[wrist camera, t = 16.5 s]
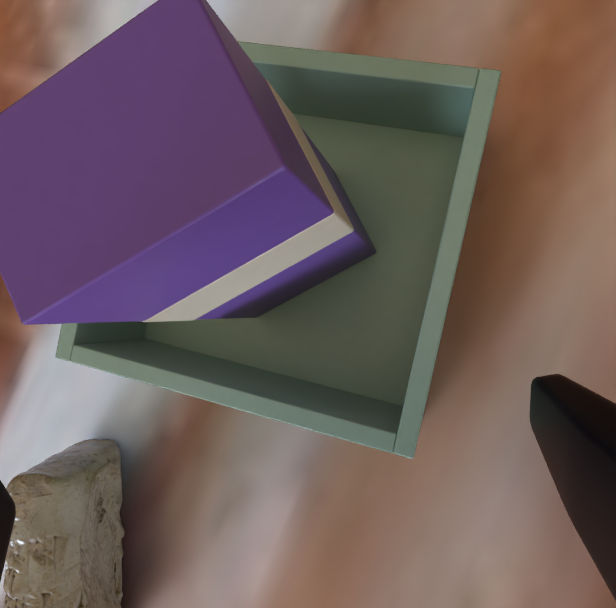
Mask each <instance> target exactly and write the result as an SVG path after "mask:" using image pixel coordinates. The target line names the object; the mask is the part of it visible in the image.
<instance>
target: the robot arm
mask: <svg viewBox="0 0 616 608" xmlns="http://www.w3.org/2000/svg"><path fill="white" fill-rule="evenodd" d="M530 423H531V427H532V430H533V432H534V435H535V437H536V440H537V442H538V444H539V447H540V449H541V452H542V454H543V456H544V459H545V461H546V463H547V466H548V468H549V471H550V473H551V475H552V478H553V480H554V483H555V485H556V487H557V490H558V492H559V494H560V497H561V499H562V502H563V504H564V506H565V508H566V511H567V513H568V515H569V517H570V519H571V521H572V523H573V525H574V527H575V529H576V530H577V532H578V534H579V536H580V538H581V539H582V541H583V543H584V545H585V547H586V548H587V550H588V552H589V554H590V556H591V557H592V559H593V561H594V563H595V564H596V566H597V568H598V570H599V572H600V573H601V575H602V577H603V579H604V581H605V582H606V584H607V586H608V588H609V590H610V591H611V593H612V595H613V597H614V599H615V600H616V404H615V403H613V402H611V401H609V400H608V399H606V398H604V397H602V396H600V395H598V394H596V393H595V392H593V391H591V390H589V389H587V388H585V387H583V386H581V385H580V384H578V383H576V382H574V381H572V380H570V379H568V378H567V377H565V376H562V375H560V374H553V375H547V376H541V377H536V378H535V379H534V380H533V381H532V384H531V400H530ZM15 516H16V507H15V503H14V501H13V499H12V497H11V496H10V494H9V493H8V491H7V490H6V488H5V487H4V485H3V484H2V482H1V480H0V581H1V576H2V572H3V568H4V564H5V559H6V555H7V551H8V547H9V542H10V538H11V534H12V530H13V525H14V521H15Z"/></svg>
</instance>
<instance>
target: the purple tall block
mask: <svg viewBox="0 0 616 608" xmlns="http://www.w3.org/2000/svg"><path fill="white" fill-rule="evenodd" d="M376 252H377V251H376V249H375V247H374V245H373V243H372V241H371V239H370V237H369V235H368V234H367V232H366V230H365V228H364V226H363V224H362V222H361V220H360V218H359V217H358V215H357V213H356V211H355V209H354V207H353V205H352V203H351V201H350V199H349V198H348V196H347V194H346V192H345V190H344V188H343V186H342V184H341V182H340V180H339V179H338V177H337V175H336V173H335V171H334V170H333V168H332V167H331V166H330V164H329V163H328V162H327V160H326V159H325V158H324V156H323V155H322V154H321V152H320V151H319V150H318V148H317V147H316V146H315V145H314V143H313V142H312V141H311V139H310V138H309V137H308V135H307V134H306V133H305V131H304V130H303V129H302V127H301V126H300V125H299V123H298V121H297V119H296V118H295V117H294V115H293V114H292V113H291V111H290V110H289V108H288V107H287V106H286V104H285V103H284V102H283V100H282V99H281V98H280V96H279V95H278V94H277V92H276V91H275V90H274V88H273V87H272V86H271V84H270V83H269V82H268V80H266V79H265V78H264V77H263V75H262V74H261V73H260V71H259V70H258V69H257V67H256V66H255V65H254V63H253V62H252V61H251V59H250V58H249V57H248V55H247V54H246V53H245V51H244V50H243V49H242V47H241V46H240V45H239V43H238V42H237V41H236V39H235V38H234V37H233V35H232V34H231V33H230V31H229V30H228V29H227V27H226V26H225V25H224V23H223V22H222V21H221V19H220V18H219V17H218V15H217V14H216V13H215V12H214V10H213V9H212V8H211V6H210V5H209V4H208V2H207V1H206V0H158V1H157V2H155V3H154V4H152V5H151V6H150V7H148V8H147V9H145V10H144V11H143V12H141V13H140V14H138V15H137V16H136V17H134V18H133V19H131V20H130V21H129V22H127V23H126V24H124V25H123V26H122V27H120V28H119V29H117V30H116V31H115V32H113V33H112V34H110V35H109V36H108V37H106V38H105V39H103V40H102V41H101V42H99V43H98V44H96V45H95V46H94V47H92V48H91V49H89V50H88V51H87V52H85V53H84V54H82V55H81V56H80V57H78V58H77V59H75V60H74V61H73V62H71V63H70V64H69V65H67V66H66V67H64V68H63V69H62V70H60V71H59V72H57V73H56V74H55V75H53V76H52V77H50V78H49V79H48V80H46V81H45V82H43V83H42V84H41V85H39V86H38V87H36V88H35V89H34V90H32V91H31V92H29V93H28V94H27V95H25V96H24V97H22V98H21V99H20V100H18V101H17V102H15V103H14V104H13V105H11V106H10V107H8V108H7V109H6V110H4V111H3V112H1V113H0V273H1V276H2V278H3V280H4V283H5V285H6V287H7V290H8V292H9V294H10V297H11V299H12V301H13V304H14V306H15V308H16V311H17V313H18V315H19V318H20V320H21V322H22V323H23V324H24V325H29V324H62V323H96V322H130V321H142V322H163V321H192V320H197V319H230V318H257V317H259V316H261V315H263V314H264V313H266V312H268V311H270V310H272V309H274V308H276V307H277V306H279V305H281V304H283V303H285V302H287V301H288V300H290V299H292V298H294V297H296V296H298V295H300V294H301V293H303V292H305V291H307V290H309V289H311V288H312V287H314V286H316V285H318V284H320V283H322V282H324V281H325V280H327V279H329V278H331V277H333V276H335V275H336V274H338V273H340V272H342V271H344V270H346V269H348V268H349V267H351V266H353V265H355V264H357V263H359V262H361V261H362V260H364V259H366V258H368V257H370V256H372V255H373V254H375V253H376Z"/></svg>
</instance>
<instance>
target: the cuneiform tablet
mask: <svg viewBox="0 0 616 608" xmlns="http://www.w3.org/2000/svg"><path fill="white" fill-rule="evenodd" d="M6 490H7V491H8V493H9V494H10V496H11V497H12V499H13V501H14V503H15V507H16V516H15V521H14V525H13V530H12V534H11V538H10V542H9V547H8V551H7V555H6V559H5V563H6V567H7V569H6V571H5V579H4V585H3V586H4V590H5V592H6V596H5V600H4V607H3V608H122V607H121V605H120V603H121V599H122V596H123V592H122V560H121V558H122V557H123V549H122V540H121V538H123V537H124V527H123V526H122V524H121V518H120V508H121V504H122V480H121V455H120V449H119V446H118V444H117V443H116V442H115V441H114V440H110V439H102V440H99V439H92V440H91V439H89V440H84V441H82V442H79V443H76V444H74V445H72V446H70V447H68V448H67V449H65V450H64V451H62V452H60V453H58V454H55V455H53V456H51V457H49V458H47V459H46V460H45V461H43V462H42V463H40V464H38V465H36V466H34V467H32V468H31V469H29V470H28V471H26V472H23V473H20V474H18V475H17V476H15V477H14V478H13V479H12V480H11V481H10V483H9V484H8V486H7V488H6Z"/></svg>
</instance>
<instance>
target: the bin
mask: <svg viewBox="0 0 616 608" xmlns="http://www.w3.org/2000/svg"><path fill="white" fill-rule="evenodd" d="M237 42H238V43H239V45H240V46H241V47H242V49H243V50H244V51H245V53H246V54H247V55H248V57H249V58H250V59H251V61H252V62H253V63H254V65H255V66H256V67H257V69H258V70H259V71H260V73H261V74H262V75H263V77H264V78H265V79H266V80H268V82H269V83H270V84H271V86H272V87H273V88H274V90H275V91H276V92H277V94H278V95H279V96H280V98H281V99H282V100H283V102H284V103H285V104H286V106H287V107H288V108H289V110H290V111H291V113H292V114H293V115H294V117H295V118H296V119H297V121H298V123H299V125H300V126H301V127H302V129H303V130H304V131H305V133H306V134H307V135H308V137H309V138H310V139H311V141H312V142H313V143H314V145H315V146H316V147H317V148H318V150H319V151H320V152H321V154H322V155H323V156H324V158H325V159H326V160H327V162H328V163H329V164H330V166H331V167H332V168H333V170H334V171H335V173H336V175H337V177H338V179H339V180H340V182H341V184H342V186H343V188H344V190H345V192H346V194H347V196H348V198H349V199H350V201H351V203H352V205H353V207H354V209H355V211H356V213H357V215H358V217H359V218H360V220H361V222H362V224H363V226H364V228H365V230H366V232H367V234H368V235H369V237H370V239H371V241H372V243H373V245H374V247H375V249H376V251H377V252H376V253H375V254H373V255H372V256H370V257H368V258H366V259H364V260H362V261H361V262H359V263H357V264H355V265H353V266H351V267H349V268H348V269H346V270H344V271H342V272H340V273H338V274H336V275H335V276H333V277H331V278H329V279H327V280H325V281H324V282H322V283H320V284H318V285H316V286H314V287H312V288H311V289H309V290H307V291H305V292H303V293H301V294H300V295H298V296H296V297H294V298H292V299H290V300H288V301H287V302H285V303H283V304H281V305H279V306H277V307H276V308H274V309H272V310H270V311H268V312H266V313H264V314H263V315H261V316H259V317H257V318H230V319H197V320H192V321H163V322H142V321H130V322H96V323H62V326H61V331H60V336H59V341H58V346H57V351H56V358H59V359H63V360H66V361H71V362H74V363H77V364H81V365H84V366H88V367H91V368H95V369H98V370H102V371H105V372H109V373H112V374H116V375H119V376H123V377H126V378H130V379H133V380H137V381H140V382H144V383H147V384H151V385H154V386H158V387H161V388H165V389H168V390H172V391H175V392H179V393H182V394H186V395H189V396H193V397H196V398H200V399H203V400H207V401H210V402H214V403H217V404H221V405H224V406H228V407H231V408H235V409H238V410H242V411H245V412H249V413H252V414H256V415H259V416H263V417H266V418H270V419H273V420H277V421H281V422H284V423H288V424H291V425H295V426H298V427H302V428H305V429H309V430H312V431H316V432H319V433H323V434H326V435H330V436H333V437H337V438H340V439H344V440H347V441H351V442H354V443H358V444H361V445H365V446H368V447H372V448H375V449H379V450H382V451H386V452H389V453H392V452H393V453H394V454H397V455H400V456H404V457H407V458H411V459H412V458H413V457H414V454H415V449H416V445H417V441H418V436H419V432H420V427H421V423H422V419H423V414H424V410H425V405H426V401H427V397H428V392H429V388H430V384H431V379H432V375H433V370H434V366H435V362H436V357H437V353H438V348H439V344H440V340H441V335H442V331H443V326H444V322H445V318H446V313H447V309H448V305H449V300H450V296H451V291H452V287H453V283H454V278H455V274H456V269H457V265H458V261H459V256H460V252H461V247H462V243H463V239H464V234H465V230H466V226H467V221H468V217H469V212H470V208H471V204H472V199H473V195H474V190H475V186H476V182H477V177H478V173H479V169H480V164H481V160H482V155H483V151H484V147H485V142H486V138H487V133H488V129H489V125H490V120H491V116H492V111H493V107H494V103H495V98H496V94H497V90H498V85H499V81H500V76H501V71H500V70H493V69H483V68H481V69H480V70H479V68H474V67H465V66H456V65H447V64H438V63H429V62H420V61H411V60H402V59H393V58H384V57H374V56H365V55H356V54H347V53H338V52H329V51H320V50H311V49H302V48H293V47H284V46H275V45H266V44H257V43H248V42H239V41H237Z"/></svg>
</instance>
